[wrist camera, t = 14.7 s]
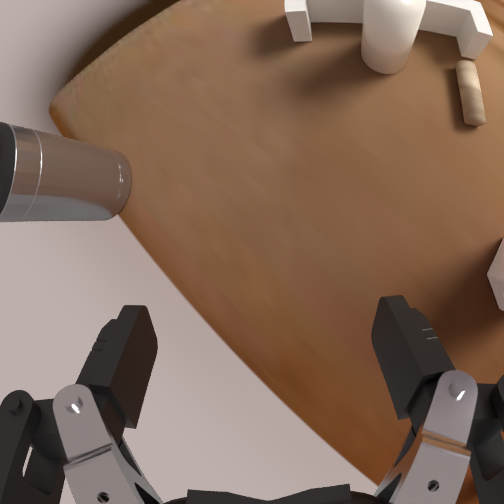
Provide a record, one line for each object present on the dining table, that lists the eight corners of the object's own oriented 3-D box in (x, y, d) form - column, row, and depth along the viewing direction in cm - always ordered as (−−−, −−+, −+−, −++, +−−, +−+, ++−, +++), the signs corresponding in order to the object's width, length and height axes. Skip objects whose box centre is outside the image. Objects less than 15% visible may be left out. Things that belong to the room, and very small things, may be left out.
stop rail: (294, 41, 29) (284, 11, 23) (293, 11, 29) (284, -19, 23) (475, 59, 23) (493, 35, 18) (466, 28, 23) (480, 2, 17)
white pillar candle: (363, 72, 28) (369, 12, 17) (358, 35, 27) (360, -28, 17) (409, 76, 26) (432, 20, 16) (402, 39, 26) (418, -21, 15)
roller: (474, 127, 25) (459, 121, 25) (464, 72, 25) (450, 65, 24) (490, 123, 23) (476, 116, 22) (479, 66, 22) (465, 57, 22)
